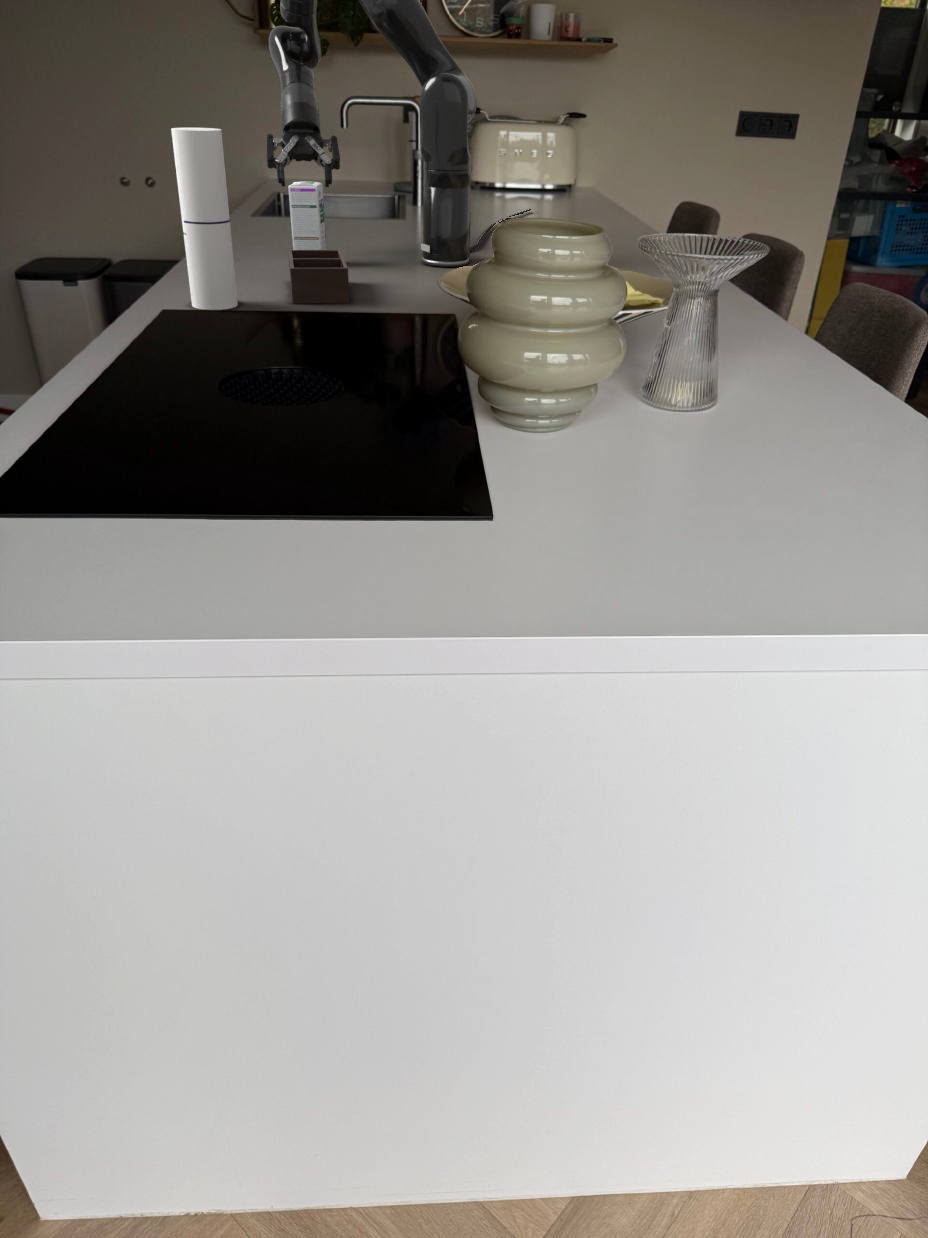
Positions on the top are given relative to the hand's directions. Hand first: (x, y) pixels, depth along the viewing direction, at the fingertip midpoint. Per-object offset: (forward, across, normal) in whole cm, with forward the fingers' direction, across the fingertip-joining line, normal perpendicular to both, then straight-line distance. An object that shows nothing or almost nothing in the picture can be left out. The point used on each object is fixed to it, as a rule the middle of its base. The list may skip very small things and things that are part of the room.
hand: (305, 183), depth 180 cm
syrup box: (+14, 0, +5) cm, 15 cm away
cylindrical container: (+40, -16, -21) cm, 48 cm away
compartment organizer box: (+34, 0, -14) cm, 37 cm away
